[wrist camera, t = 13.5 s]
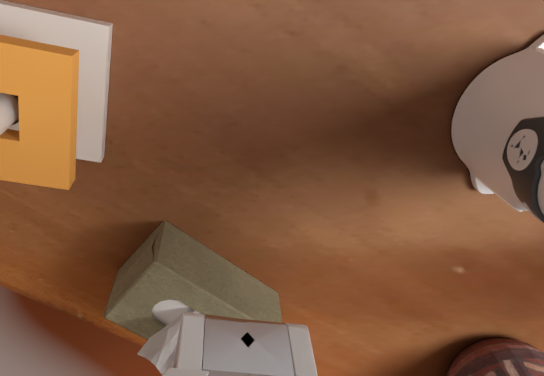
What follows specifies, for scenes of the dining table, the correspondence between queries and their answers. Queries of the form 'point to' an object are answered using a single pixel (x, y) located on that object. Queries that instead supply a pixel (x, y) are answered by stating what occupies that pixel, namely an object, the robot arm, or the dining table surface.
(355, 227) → the dining table surface
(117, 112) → the dining table surface
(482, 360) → the pottery
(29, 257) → the dining table surface
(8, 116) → the post stand
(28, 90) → the collar
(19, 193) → the dining table surface
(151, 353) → the tissue box
